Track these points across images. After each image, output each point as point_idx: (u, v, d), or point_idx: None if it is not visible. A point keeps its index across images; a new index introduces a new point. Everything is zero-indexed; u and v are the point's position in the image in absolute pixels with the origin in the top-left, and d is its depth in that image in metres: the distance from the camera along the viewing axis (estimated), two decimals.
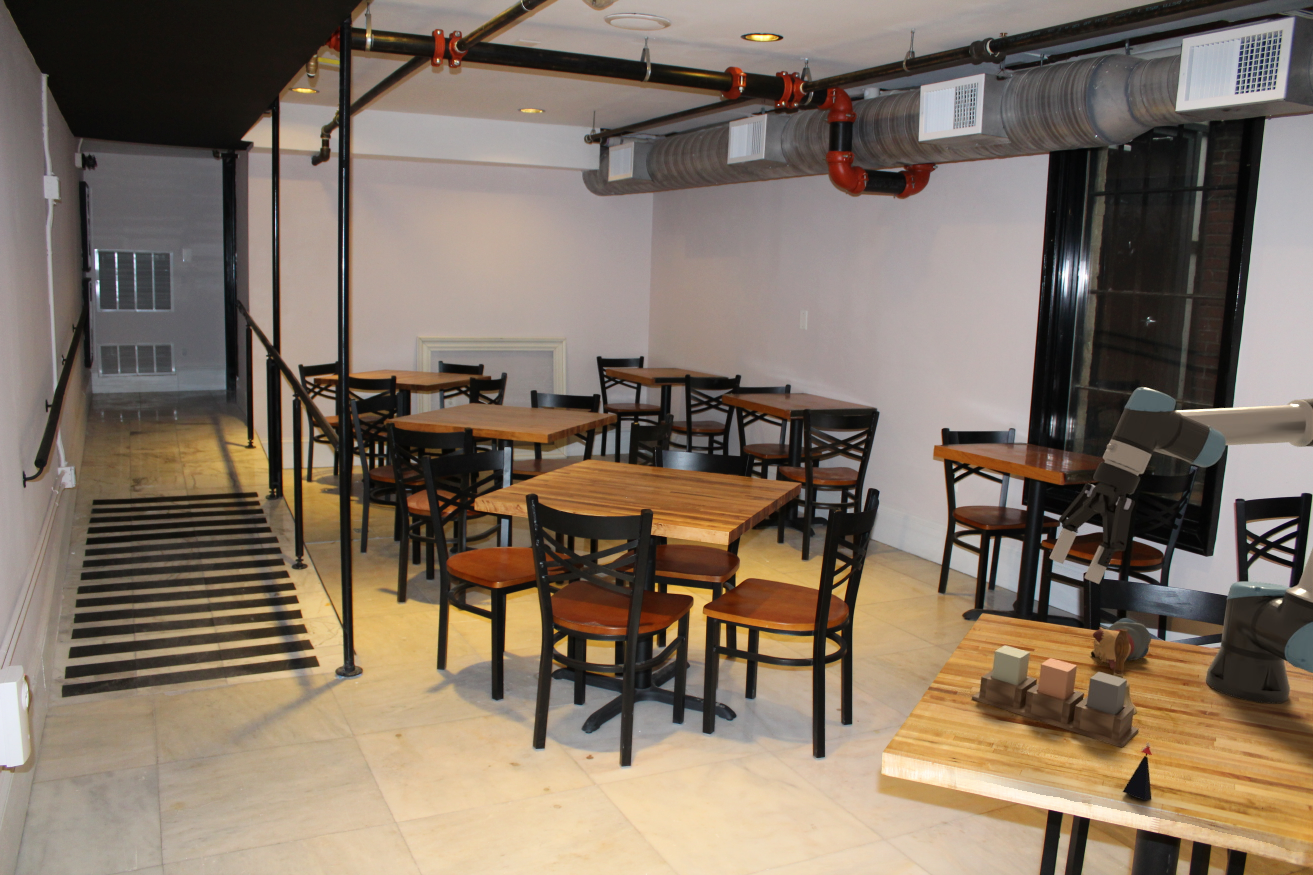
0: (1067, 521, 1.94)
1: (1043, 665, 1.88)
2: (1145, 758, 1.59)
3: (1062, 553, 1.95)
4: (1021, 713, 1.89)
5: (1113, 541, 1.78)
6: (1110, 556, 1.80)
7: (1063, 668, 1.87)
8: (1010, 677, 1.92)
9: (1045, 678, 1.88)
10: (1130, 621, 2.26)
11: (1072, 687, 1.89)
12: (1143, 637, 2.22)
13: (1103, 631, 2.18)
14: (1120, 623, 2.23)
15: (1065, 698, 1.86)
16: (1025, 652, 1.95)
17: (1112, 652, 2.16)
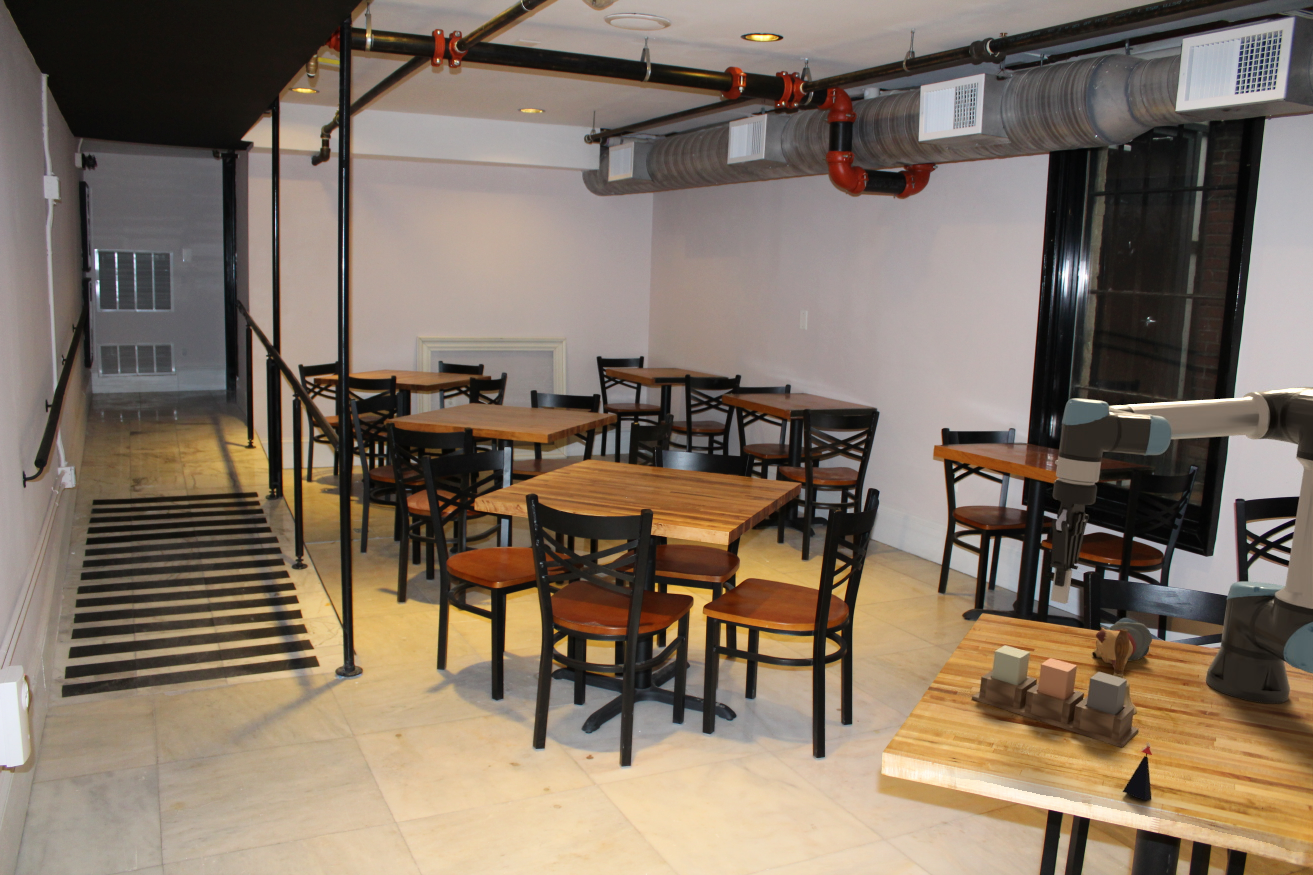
0: None
1: (1043, 665, 1.88)
2: (1145, 758, 1.59)
3: None
4: (1021, 713, 1.89)
5: (1052, 561, 1.88)
6: (1061, 575, 1.88)
7: (1063, 668, 1.87)
8: (1010, 677, 1.92)
9: (1045, 678, 1.88)
10: (1131, 621, 2.26)
11: (1072, 687, 1.89)
12: (1144, 637, 2.22)
13: (1106, 631, 2.18)
14: (1121, 623, 2.23)
15: (1065, 698, 1.86)
16: (1025, 652, 1.95)
17: (1114, 653, 2.16)
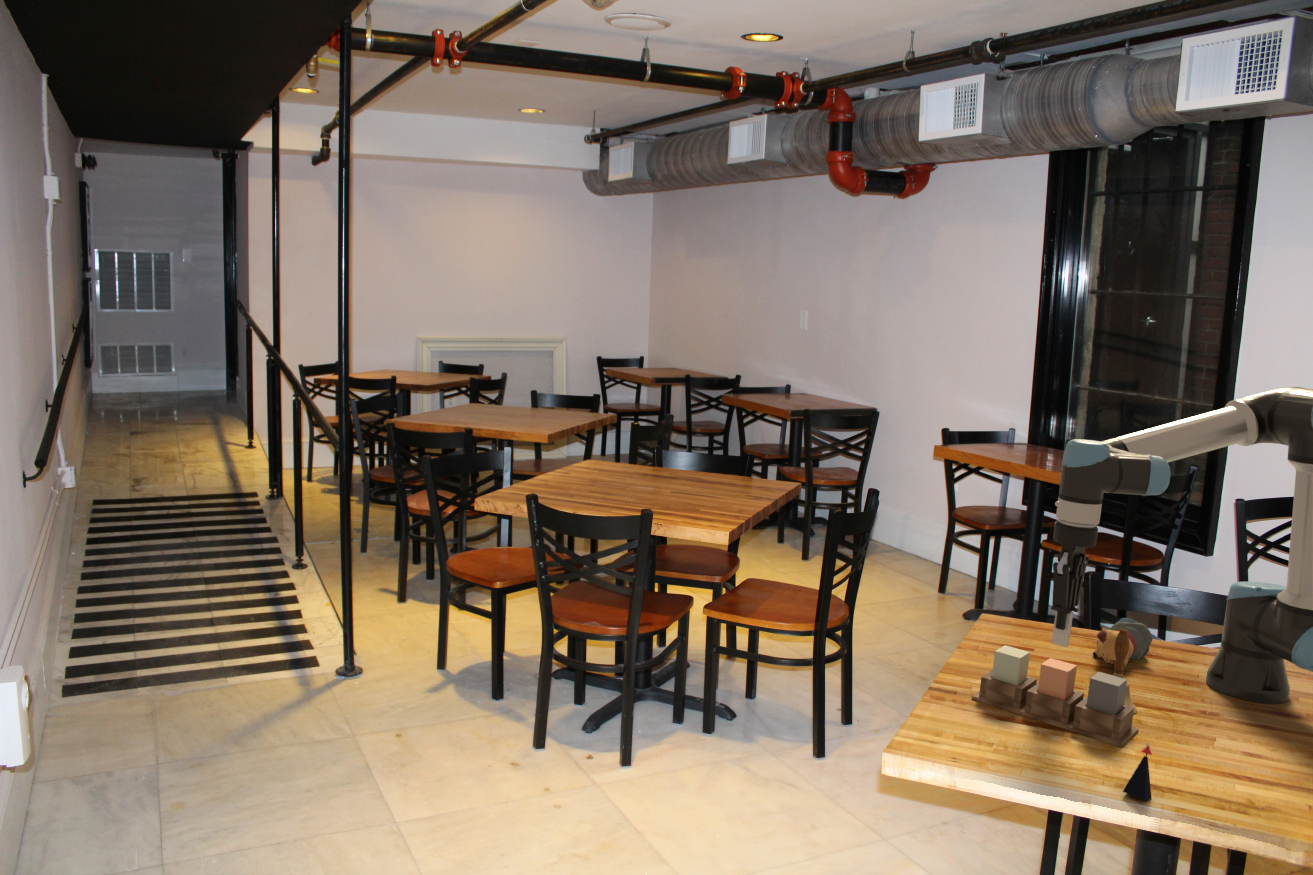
0: None
1: (1043, 665, 1.88)
2: (1145, 758, 1.59)
3: None
4: (1021, 713, 1.89)
5: (1053, 604, 1.85)
6: (1062, 618, 1.86)
7: (1063, 668, 1.87)
8: (1010, 677, 1.92)
9: (1045, 678, 1.88)
10: (1131, 621, 2.26)
11: (1072, 687, 1.89)
12: (1144, 637, 2.22)
13: (1106, 632, 2.18)
14: (1122, 623, 2.23)
15: (1065, 698, 1.86)
16: (1025, 652, 1.95)
17: None
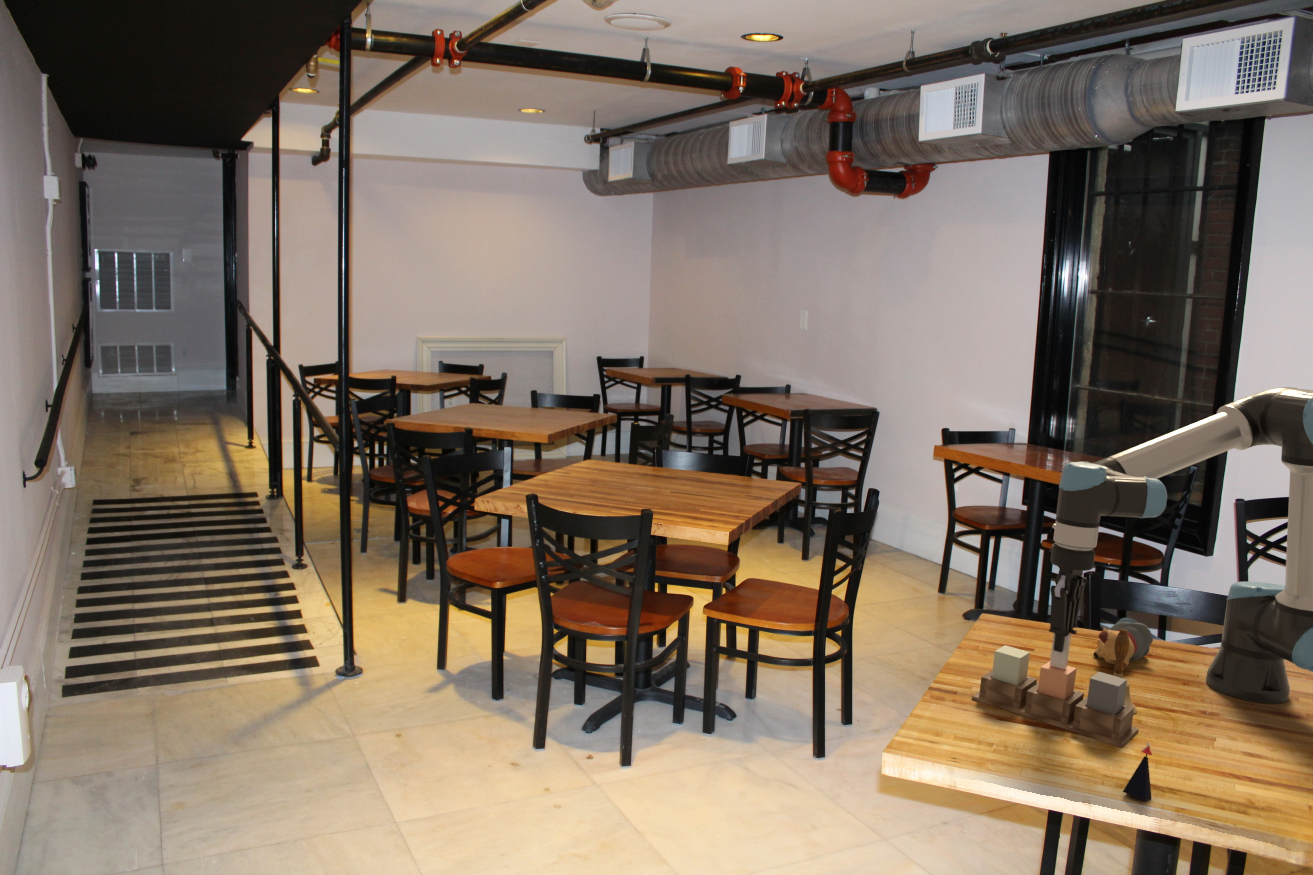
0: None
1: (1043, 668, 1.88)
2: (1145, 758, 1.59)
3: None
4: (1021, 713, 1.89)
5: None
6: (1060, 641, 1.86)
7: (1063, 671, 1.87)
8: (1010, 677, 1.92)
9: (1045, 681, 1.88)
10: (1131, 621, 2.26)
11: (1072, 690, 1.89)
12: (1145, 637, 2.22)
13: (1108, 632, 2.17)
14: (1122, 623, 2.23)
15: None
16: (1025, 652, 1.95)
17: None
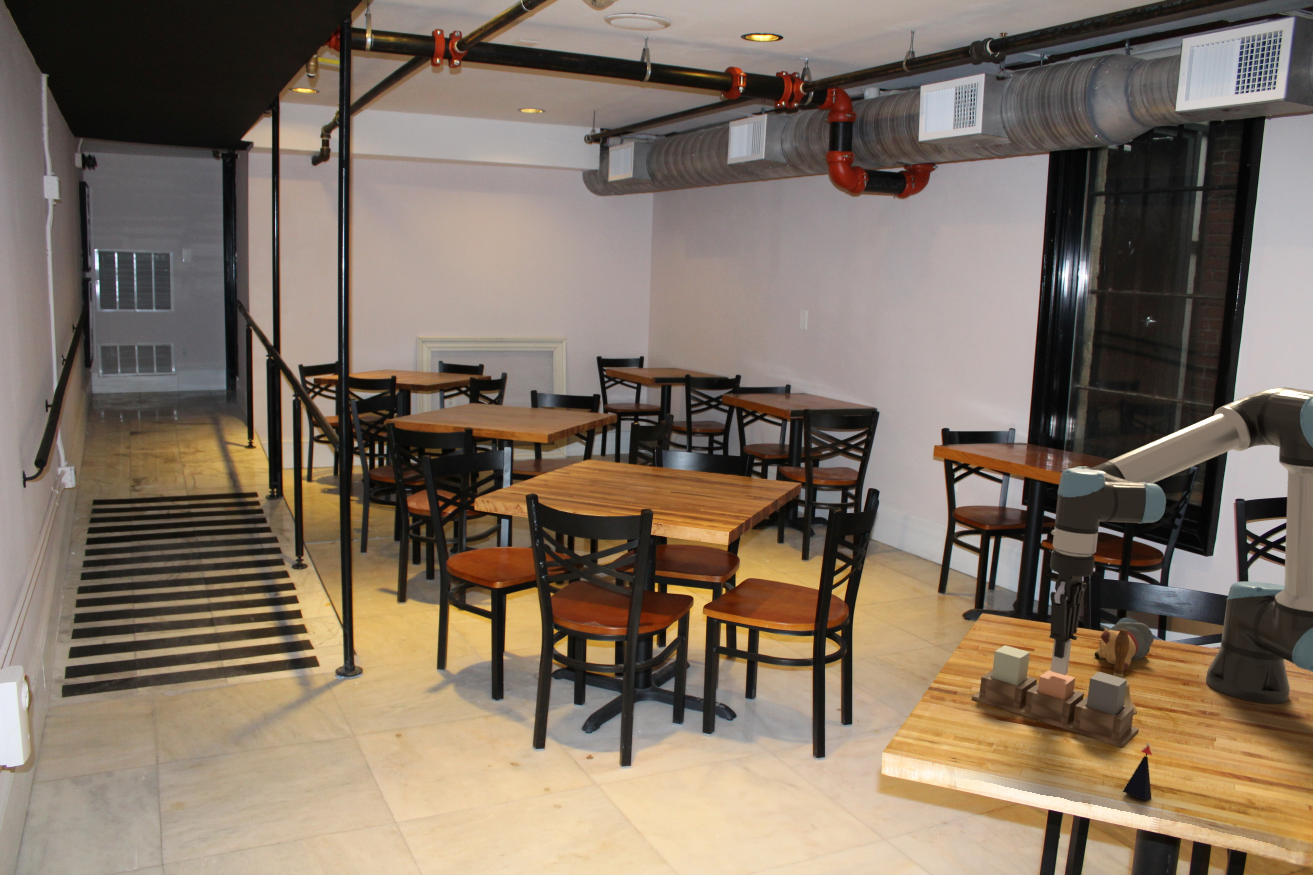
0: None
1: (1041, 677, 1.89)
2: (1145, 758, 1.59)
3: None
4: (1021, 713, 1.89)
5: (1051, 633, 1.86)
6: (1060, 647, 1.86)
7: (1062, 681, 1.87)
8: (1010, 677, 1.92)
9: (1043, 690, 1.88)
10: (1131, 621, 2.26)
11: None
12: (1146, 637, 2.22)
13: (1109, 632, 2.17)
14: (1123, 623, 2.23)
15: None
16: (1025, 652, 1.95)
17: None
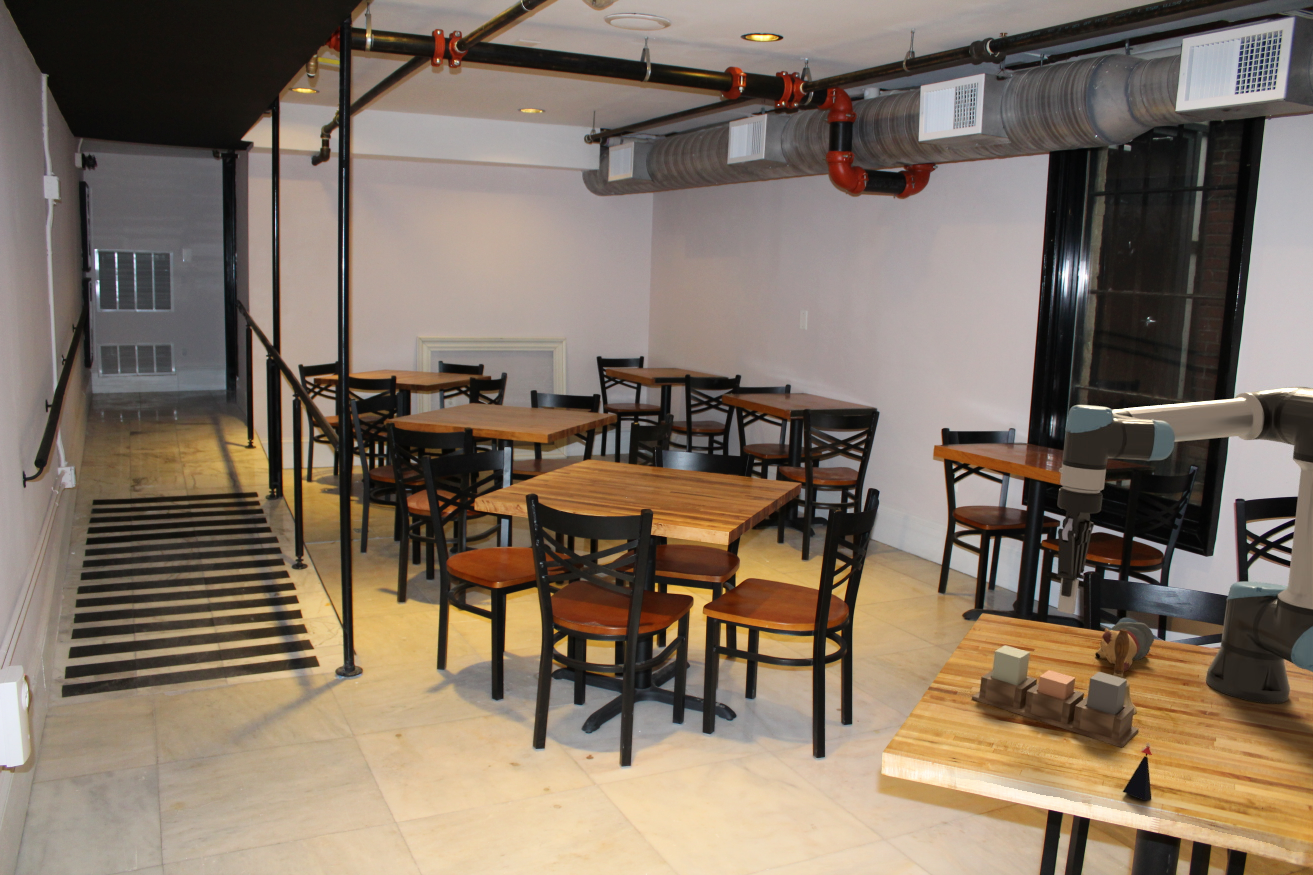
0: None
1: (1041, 677, 1.89)
2: (1145, 758, 1.59)
3: None
4: (1021, 713, 1.89)
5: None
6: (1067, 585, 1.85)
7: (1062, 681, 1.87)
8: (1010, 677, 1.92)
9: (1043, 690, 1.88)
10: (1132, 621, 2.26)
11: None
12: (1146, 637, 2.22)
13: (1111, 632, 2.17)
14: (1124, 623, 2.23)
15: None
16: (1025, 652, 1.95)
17: None
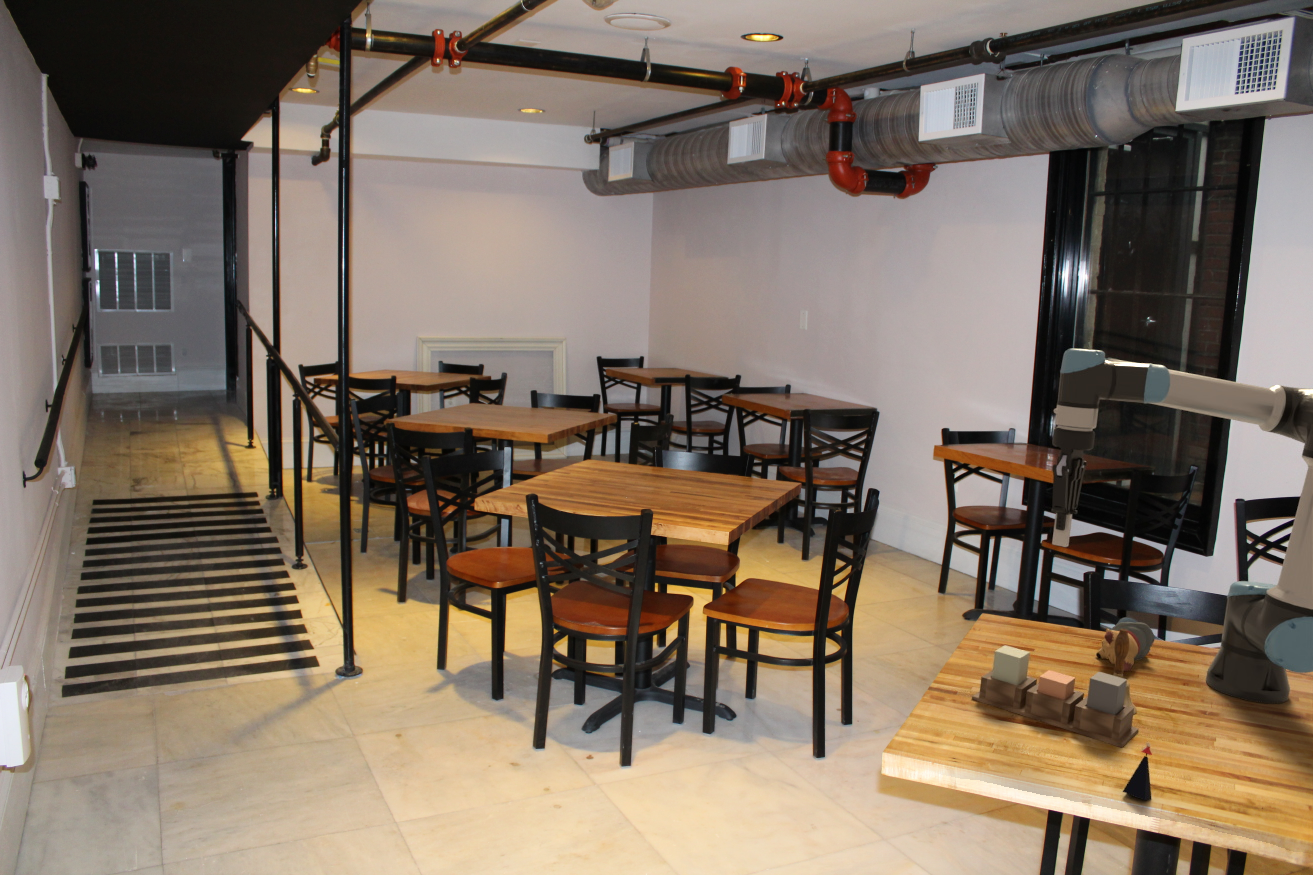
0: None
1: (1041, 677, 1.89)
2: (1145, 758, 1.59)
3: None
4: (1021, 713, 1.89)
5: None
6: (1062, 519, 1.95)
7: (1062, 681, 1.87)
8: (1010, 677, 1.92)
9: (1043, 690, 1.88)
10: (1132, 620, 2.26)
11: None
12: (1147, 637, 2.23)
13: (1112, 632, 2.17)
14: (1125, 623, 2.23)
15: None
16: (1025, 652, 1.95)
17: None
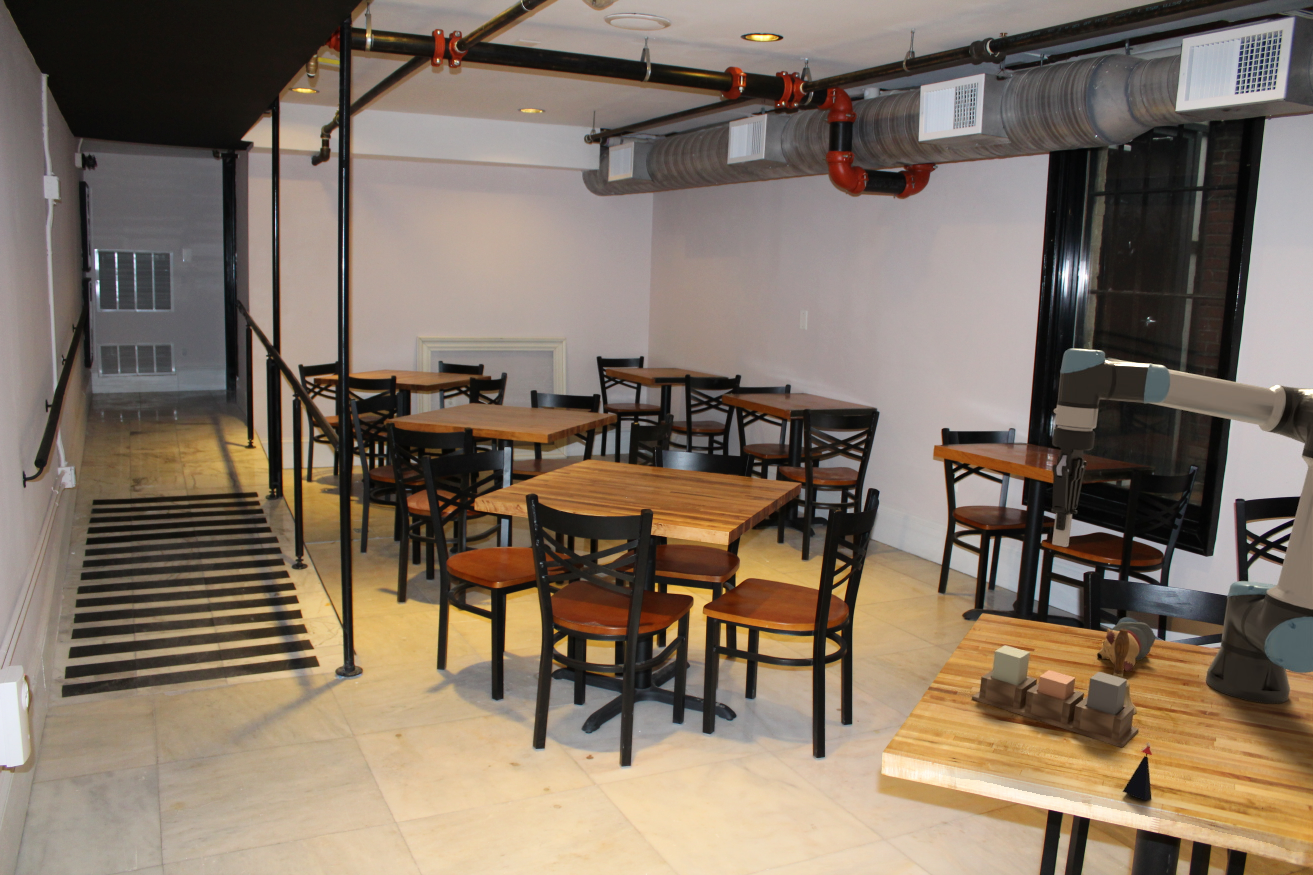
0: None
1: (1041, 677, 1.89)
2: (1145, 758, 1.59)
3: None
4: (1021, 713, 1.89)
5: (1053, 505, 1.95)
6: (1062, 519, 1.95)
7: (1062, 681, 1.87)
8: (1010, 677, 1.92)
9: (1043, 690, 1.88)
10: (1132, 620, 2.26)
11: None
12: (1147, 637, 2.23)
13: (1114, 633, 2.17)
14: (1125, 623, 2.23)
15: None
16: (1025, 652, 1.95)
17: None
